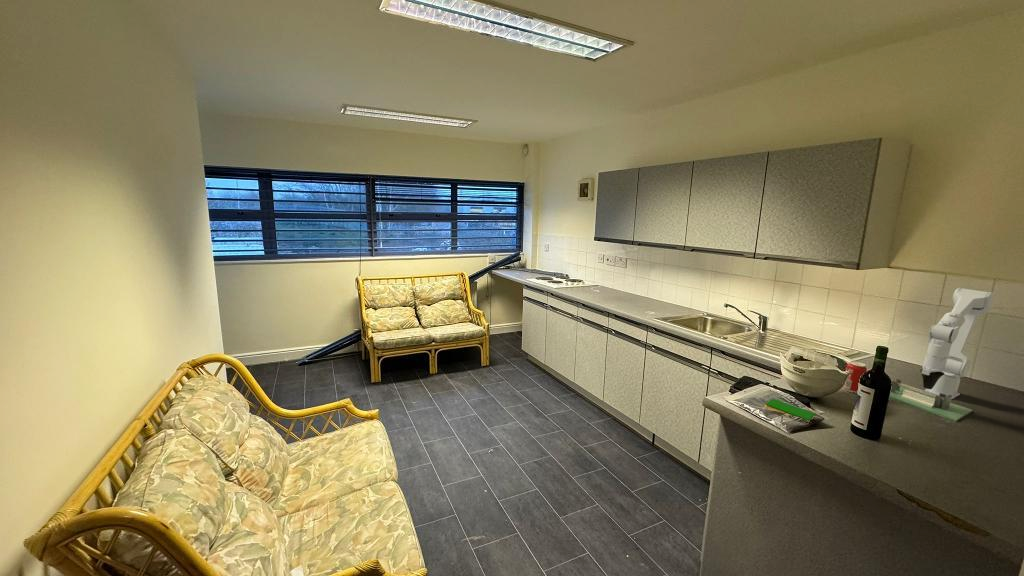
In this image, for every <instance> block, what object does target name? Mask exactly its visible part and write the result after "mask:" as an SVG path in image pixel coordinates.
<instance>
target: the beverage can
mask: <svg viewBox="0 0 1024 576" xmlns="http://www.w3.org/2000/svg"><path fill="white" fill-rule="evenodd" d="M848 370H850V374H849V376H848V378H847V380H846V382H845V385H844V387H842V388H843V389H844V390H845V391H847V392H848V393H852V394H853V392H854V394H858V393H857V390H858V383H859V379H860V376H861V375H862V374H863V373H865V372H866V373H867V371H868V368H867V367H866V364H865V363H862V362H861V361H860V362H859V361H855V360H852V361H849V362H848V363H847V364H846V368H845V371H844V373H845V372H846V371H848Z"/></svg>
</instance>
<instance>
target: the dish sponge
mask: <svg viewBox="0 0 1024 576" xmlns="http://www.w3.org/2000/svg"><path fill="white" fill-rule="evenodd" d="M765 407H766V408H769V409H772V410H775V411H778V412H782V413H785V414H789V415H794V416H797V417H801V418H803V419H806V420H808V421H810V419H811V418H812V417H813V416H815V417H816V413H815V412H812V411H809V410H806V409H803V408H800V407H799V406H795V405H792V404H790V403H786V402H784V401H781V400H779V399H776V398H771V399H770V400H768V401H767V402H766V403H765V406H764V408H765Z"/></svg>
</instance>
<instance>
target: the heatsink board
mask: <svg viewBox="0 0 1024 576" xmlns="http://www.w3.org/2000/svg"><path fill="white" fill-rule="evenodd" d="M902 381H903V380H902V379H900V378H896V380H892V381H891V384H892V389H891V394H890V398H889V399H890V400H894V401H896V402H899V403H901V404H904V405H907V406H910V407H913V408H916V409H919V410H921V411H924V412H927V413H930V412H931V413H930V414H932V415H935V414H936V415H935V416H938V415H939V417H941V418H944V419H947V420H950V421H952V420H953V422H958V421H959V420H960V419H962V418H964V417H965V416H967V415H969V414H970V413H971V412H972V411H973V409H971V408H967V407H965V406H962V405H960V404H959V405H958V404H955V403H953V402H951V401H952V400H953V399H952V395H948V396H946V395H945V394H942V393H940V395H939V396H937V395H936V397H935V398H934V397H931V396H928V395H925V394H922V393H919V392H916V391H913V390H910V389H907V388H904V387H901V386H898V385H897V383H898V382H899V383H903V382H902ZM940 396H942V397H944V400H942V397H940Z"/></svg>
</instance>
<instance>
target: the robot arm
mask: <svg viewBox="0 0 1024 576" xmlns="http://www.w3.org/2000/svg"><path fill="white" fill-rule="evenodd" d="M994 299H995V294H994V293H993V291H992V292H991V291H990V292H988V291H982V290H975V289H970V288H969V289H968V288H962V287H958V288H956V289H955V290H954V293H953V294H952V302H953V308H952V310H951V311H950V312H947V313H944V315H943V316H942V318H941V319H940V320H939V322H938V323H936V324H932V325H931V326H930V329H929V331H928V332H929V333H928V340H927V342H928V347H927V350H926V353H925V358H924V360H923V363H922V364H921V366H922V368H920V373H921V376H922V386H923V388H924V391H927V392H930V393H933V394H936V395H940V393H942V394H945V395H946V396H948V395H952V399H951V400H953V399H955V398H957V397H958V396H960V392H958V389H959V386H960V383H961V378H963V377H965V376H966V375H967V374H968V372H969V370H970V367H971V366H970V365H971V362H972V361H971V358H970V357H968V355H966V354H965V353H964V351H965V350H966V347H967V344H968V342H969V340H970V338H971V335H972V332H973V330H974V327H975V326H976V323H977V321H978V319H979V317H980V316H981V315H986V314H988V313H989V312H990V310H991V307H992V306H993V302H994Z"/></svg>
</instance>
